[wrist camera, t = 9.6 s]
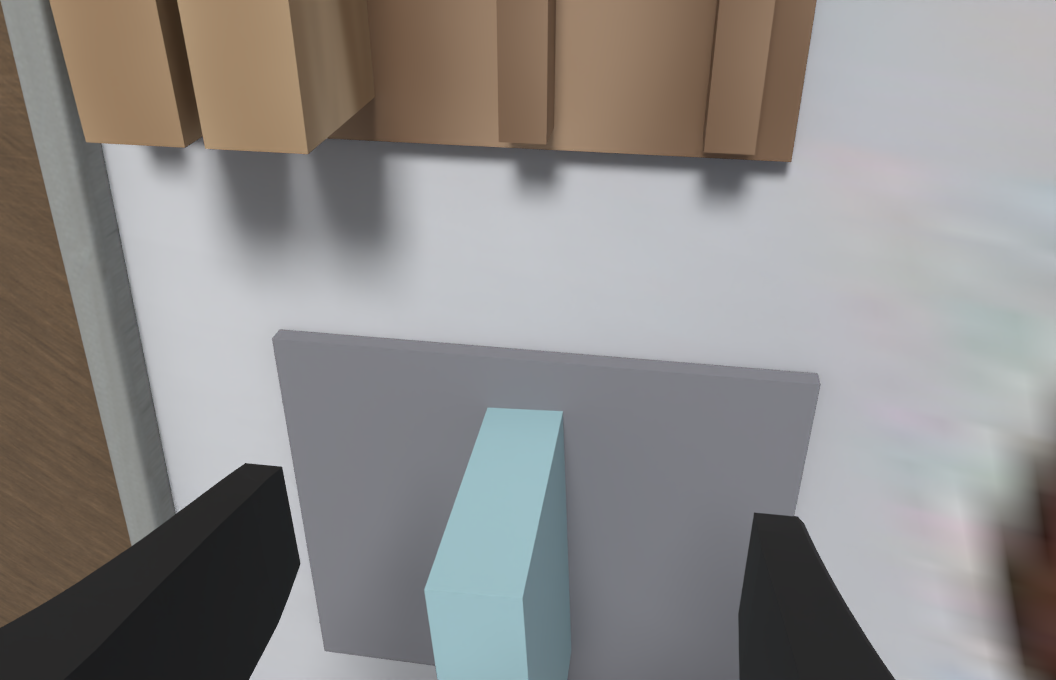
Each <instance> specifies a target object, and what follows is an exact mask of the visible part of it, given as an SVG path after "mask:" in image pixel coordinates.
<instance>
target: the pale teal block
mask: <svg viewBox="0 0 1056 680" xmlns="http://www.w3.org/2000/svg"><path fill="white" fill-rule="evenodd" d="M424 592H425V599H426V605H427V612H428V619H429V625H430V632H431V639H432V646H433V652H434V659H435V666H436V672H437V679H438V680H567V678H568V671H569V664H570V657H571V624H570V596H569V569H568V541H567V513H566V485H565V457H564V429H563V411H547V410H527V409H506V408H487V411H486V414H485V416H484V419H483V422H482V425H481V428H480V431H479V434H478V437H477V439H476V442H475V445H474V448H473V451H472V454H471V457H470V460H469V462H468V465H467V468H466V471H465V474H464V477H463V480H462V483H461V486H460V488H459V491H458V494H457V497H456V500H455V503H454V506H453V509H452V511H451V514H450V517H449V520H448V523H447V526H446V529H445V532H444V534H443V537H442V540H441V543H440V546H439V549H438V552H437V555H436V557H435V560H434V563H433V566H432V569H431V572H430V575H429V578H428V580H427V583H426V586H425V589H424Z"/></svg>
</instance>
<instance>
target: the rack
mask: <svg viewBox="0 0 1056 680" xmlns="http://www.w3.org/2000/svg"><path fill="white" fill-rule="evenodd" d="M816 1H817V0H367V10H368V22H369V33H370V45H371V56H372V68H373V79H374V91H375V97H374V98H373V99H372V100H371V101H370V102H368V103H367V104H366V105H365V106H364V107H363V108H361V109H360V110H359V111H358V112H357V113H356V114H354V115H353V116H352V117H351V118H350V119H349V120H347V121H346V122H345V123H344V124H343V125H342V126H340V127H339V128H338V129H337V130H336V131H335V132H333V133H332V134H331V135H330V136H329V137H328V139H348V140H367V141H387V142H407V143H427V144H446V145H466V146H486V147H505V148H525V149H545V150H565V151H584V152H604V153H624V154H644V155H663V156H683V157H703V158H722V159H742V160H762V161H782V162H791V160H792V154H793V147H794V141H795V134H796V128H797V122H798V115H799V109H800V103H801V96H802V90H803V83H804V77H805V71H806V64H807V58H808V52H809V45H810V39H811V32H812V26H813V20H814V13H815V7H816Z"/></svg>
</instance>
